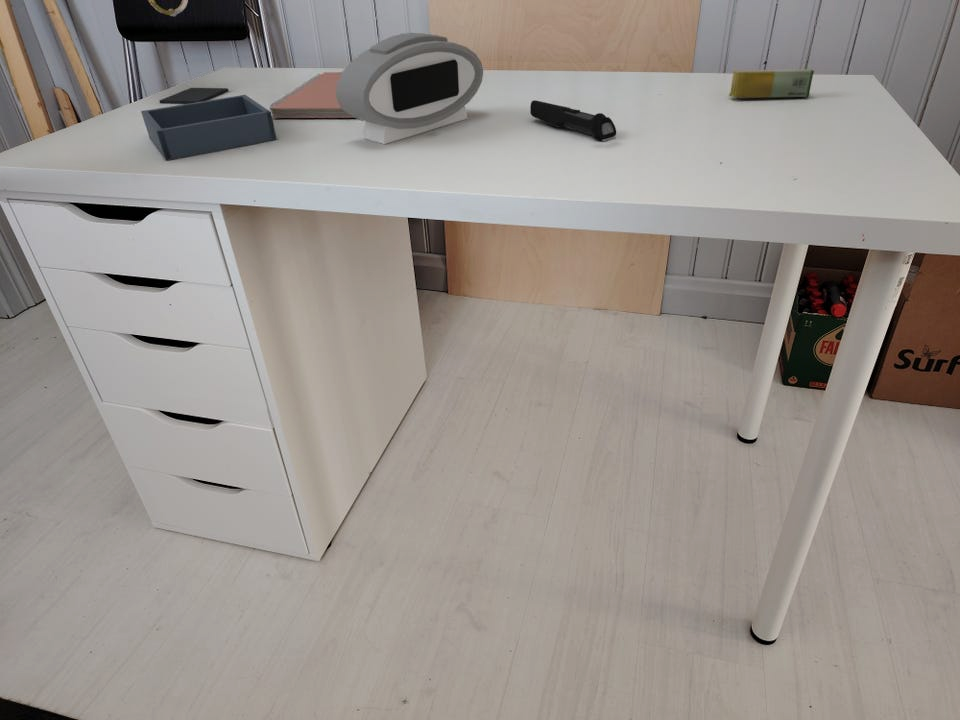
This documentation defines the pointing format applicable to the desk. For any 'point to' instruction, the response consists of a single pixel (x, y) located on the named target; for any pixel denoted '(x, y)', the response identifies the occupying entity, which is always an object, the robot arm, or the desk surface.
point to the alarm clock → (409, 85)
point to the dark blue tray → (208, 126)
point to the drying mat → (194, 95)
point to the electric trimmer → (574, 119)
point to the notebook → (311, 100)
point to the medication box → (771, 83)
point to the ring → (171, 11)
